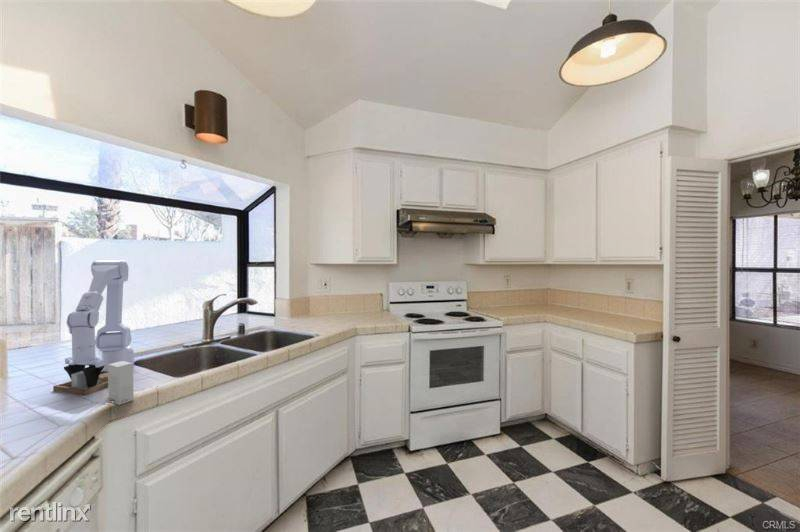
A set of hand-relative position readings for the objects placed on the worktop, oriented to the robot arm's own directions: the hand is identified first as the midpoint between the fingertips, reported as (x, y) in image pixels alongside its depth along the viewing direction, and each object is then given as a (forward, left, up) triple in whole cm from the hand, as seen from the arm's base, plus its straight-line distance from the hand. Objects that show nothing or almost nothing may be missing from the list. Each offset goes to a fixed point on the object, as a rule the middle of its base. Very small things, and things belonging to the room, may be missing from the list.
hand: (84, 386), depth 115 cm
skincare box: (+2, +19, -2) cm, 19 cm away
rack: (-3, 0, -2) cm, 4 cm away
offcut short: (-6, 0, 0) cm, 6 cm away
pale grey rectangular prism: (0, 0, -2) cm, 2 cm away
